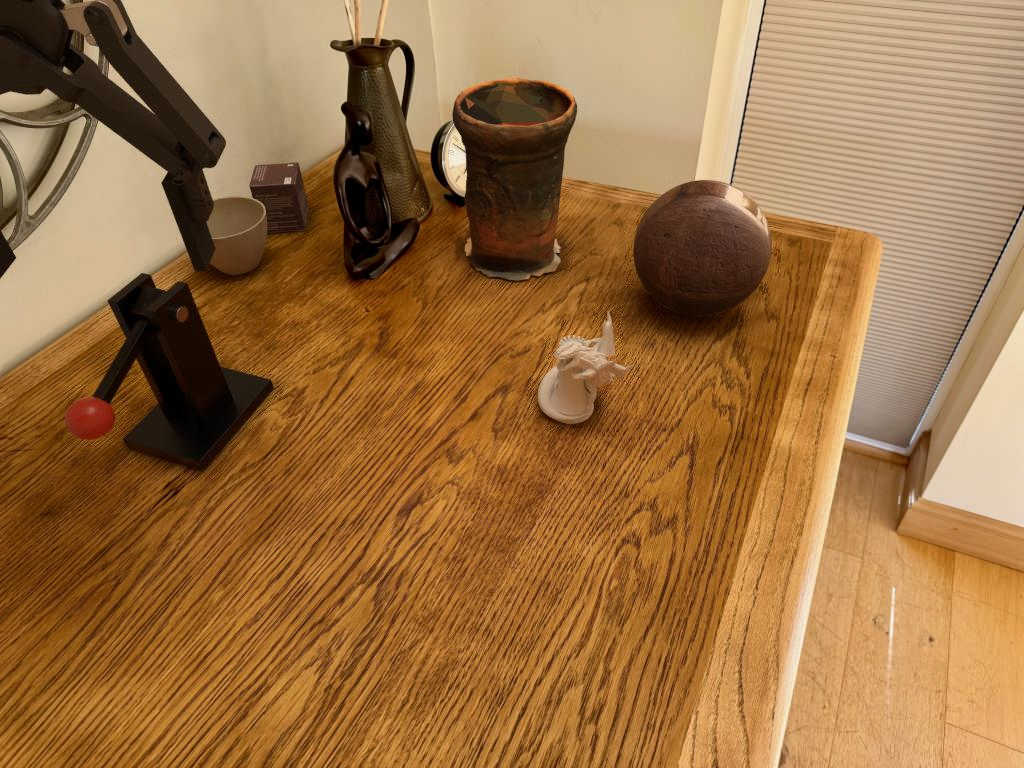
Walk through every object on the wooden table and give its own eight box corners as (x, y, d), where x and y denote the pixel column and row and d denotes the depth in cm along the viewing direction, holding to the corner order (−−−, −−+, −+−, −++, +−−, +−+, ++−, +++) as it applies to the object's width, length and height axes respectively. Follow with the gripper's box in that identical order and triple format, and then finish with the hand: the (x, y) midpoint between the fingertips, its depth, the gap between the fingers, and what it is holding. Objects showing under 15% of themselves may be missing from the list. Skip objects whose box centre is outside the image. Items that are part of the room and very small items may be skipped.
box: (267, 212, 104) (254, 164, 99) (310, 209, 104) (299, 161, 99) (261, 234, 99) (247, 185, 94) (306, 231, 100) (294, 182, 95)
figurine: (523, 399, 75) (522, 307, 67) (582, 370, 78) (588, 279, 70) (587, 465, 69) (595, 372, 60) (649, 431, 72) (664, 338, 63)
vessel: (579, 227, 99) (587, 79, 86) (560, 288, 89) (565, 131, 75) (477, 216, 102) (469, 71, 88) (448, 274, 92) (434, 120, 78)
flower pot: (185, 266, 94) (166, 217, 89) (252, 235, 99) (237, 187, 94) (226, 297, 89) (208, 247, 84) (294, 262, 94) (281, 213, 89)
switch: (110, 450, 61) (81, 435, 58) (76, 440, 62) (46, 424, 59) (190, 309, 66) (167, 287, 63) (158, 301, 67) (134, 280, 64)
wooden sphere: (768, 343, 81) (803, 225, 71) (634, 343, 81) (649, 226, 71) (741, 266, 92) (767, 155, 82) (622, 267, 92) (634, 156, 82)
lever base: (203, 471, 69) (142, 344, 58) (127, 448, 71) (54, 321, 60) (274, 388, 77) (232, 263, 66) (204, 370, 79) (152, 246, 68)
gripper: (-414, -82, 31) (-115, 307, 46) (168, -98, 32) (279, 288, 47) (-287, -115, 37) (-56, 242, 52) (208, -128, 38) (297, 227, 52)
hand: (104, 265), depth 49 cm, fingers open, 13 cm apart
